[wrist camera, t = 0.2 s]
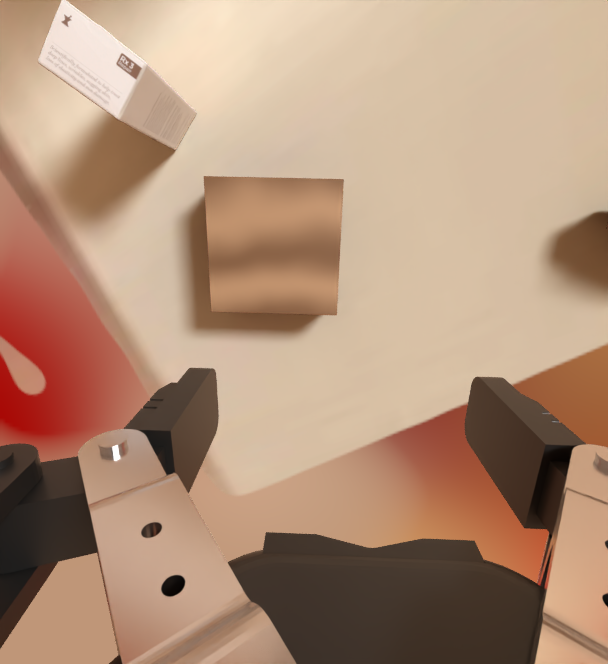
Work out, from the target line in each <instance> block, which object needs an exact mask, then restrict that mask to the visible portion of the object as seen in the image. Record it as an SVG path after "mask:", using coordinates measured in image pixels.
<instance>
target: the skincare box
mask: <svg viewBox="0 0 608 664" xmlns="http://www.w3.org/2000/svg"><path fill="white" fill-rule="evenodd" d="M38 63H39V64H40V65H42V66H43V67H45V68H46V69H47V70H49V71H50V72H52V73H53V74H54V75H56V76H57V77H59V78H60V79H61V80H63V81H64V82H66V83H67V84H68V85H70V86H71V87H73V88H74V89H75V90H77V91H78V92H80V93H81V94H82V95H84V96H85V97H87V98H88V99H89V100H91V101H92V102H94V103H95V104H96V105H98V106H99V107H101V108H102V109H103V110H105V111H106V112H108V113H109V114H111V115H112V116H114V117H115V118H116V119H118V120H119V121H121V122H123V123H125V124H127V125H129V126H130V127H132V128H134V129H136V130H137V131H139V132H141V133H143V134H145V135H147V136H149V137H151V138H152V139H154V140H156V141H158V142H160V143H162V144H164V145H166V146H168V147H170V148H172V149H173V150H176V148H177V147H178V145H179V143H180V142H181V140H182V138H183V137H184V135H185V133H186V131H187V130H188V128H189V126H190V124H191V122H192V121H193V119H194V117H195V115H196V111H195V110H194V109H193V108H192V107H191V106H190V105H189V104H188V103H187V102H186V101H185V100H184V99H183V98H182V97H181V96H180V95H179V94H178V93H177V92H176V91H175V90H174V89H173V88H172V87H171V86H170V85H169V84H168V83H167V82H166V81H165V80H164V79H163V78H162V77H161V76H160V75H159V74H158V73H157V72H156V71H155V70H154V69H153V68H152V67H151V66H150V65H149V64H148V63H147V62H145V61H144V60H143V59H142V58H140V57H139V56H138V55H136V54H135V53H134V52H133V51H131V50H130V49H129V48H127V47H126V46H125V45H123V44H122V43H121V42H120V41H118V40H117V39H116V38H114V37H113V36H112V35H111V34H110V33H109V32H108V31H107V30H105V29H104V28H103V27H102V26H100V25H98V24H97V23H95V22H94V21H93V20H91V19H90V18H89V17H87V16H86V15H85V14H83V13H82V12H81V11H80V10H78V9H77V8H76V7H74V6H73V5H72V4H70V3H69V2H68V1H66V0H61V3H60V5H59V7H58V10H57V12H56V14H55V17H54V20H53V22H52V25H51V27H50V30H49V32H48V35H47V37H46V40H45V42H44V45H43V47H42V50H41V53H40V56H39V59H38Z"/></svg>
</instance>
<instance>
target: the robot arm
mask: <svg viewBox="0 0 608 664" xmlns="http://www.w3.org/2000/svg"><path fill="white" fill-rule="evenodd" d="M217 427H218V397H217V380H216V372H215V370H214V369H209V368H189V369H188V370H187V371H186V373H185V374H184V375H183V376H182V378H181V379H180V380H179V381H178V383H170V384H168V385H166V386H164V387H163V388H161V389H159V390H158V391H157V392H156V393H155V394H154V395H153V396H152V397H151V398H150V401H148V402H147V403H146V404H145V405H144V407H143V409H141V410H140V411H139V412H138V413H137V414H136V415H135V417H134V418H133V419H132V420H131V421H130V422H129V423H128V424H127V426H126V427H125V428H124V429H119V430H114V431H109V432H106V433H103V434H100V435H98V436H96V437H94V438H92V439H91V440H89V441H88V442H87V443H85V444H84V445H83V446H82V447H81V449H80V450H79V453H78V456H77V457H72V458H66V459H60V460H54V461H47V462H41V463H40V458H39V454H38V450H37V449H36V448H35V447H34V446H32V445H29V444H10V445H5V446H1V447H0V648H1V647H2V645H3V644H4V642H5V641H6V639H7V638H8V636H9V634H10V633H11V632H12V630H13V629H14V627H15V626H16V624H17V623H18V621H19V620H20V618H21V617H22V615H23V614H24V612H25V611H26V609H27V608H28V606H29V605H30V603H31V602H32V600H33V599H34V598H35V596H36V595H37V593H38V592H39V590H40V588H41V587H42V586H43V584H44V583H45V581H46V580H47V578H48V577H49V575H50V574H51V572H52V571H53V569H54V568H55V566H56V564H57V563H58V561H62V560H67V559H71V558H75V557H80V556H84V555H88V554H92V553H97V554H98V559H99V563H100V568H101V573H102V577H103V583H104V587H105V592H106V597H107V602H108V606H109V611H110V616H111V621H112V626H113V631H114V636H115V641H116V645H117V650H118V656H117V657H116V658H115V659H114V660H113V661H112V662H110V663H109V664H608V448H607V447H603V446H597V445H588V444H586V443H584V442H583V441H582V440H581V439H580V438H579V437H578V436H576V435H575V434H574V433H573V432H572V431H571V430H569V429H568V428H567V427H566V426H565V425H563V424H562V423H559V420H558V419H557V418H555V417H554V416H553V415H552V414H549V411H547V410H546V409H545V408H544V407H543V406H542V405H540V404H539V403H538V402H536V401H534V400H532V399H530V398H528V397H526V396H525V395H523V394H521V393H519V392H518V391H517V390H516V389H515V388H514V387H513V386H512V385H511V384H509V383H508V382H507V381H506V380H505V379H504V378H498V377H475V378H474V380H473V382H472V385H471V390H470V396H469V402H468V408H467V413H466V419H465V435H466V438H467V441H468V443H469V445H470V446H471V448H472V449H473V451H474V452H475V454H476V455H477V457H478V458H479V460H480V461H481V463H482V465H483V466H484V468H485V469H486V471H487V472H488V474H489V475H490V477H491V478H492V480H493V481H494V483H495V484H496V486H497V487H498V489H499V490H500V492H501V493H502V495H503V497H504V498H505V500H506V501H507V503H508V504H509V506H510V507H511V509H512V510H513V512H514V513H515V515H516V516H517V518H518V519H519V521H520V522H521V524H522V525H523V527H524V528H531V529H547V530H548V531H549V535H548V539H547V542H546V546H545V550H544V555H543V559H542V564H541V568H540V573H539V577H538V582H537V583H535V582H533V581H532V580H530V579H528V578H526V577H525V576H523V575H521V574H519V573H517V572H515V571H513V570H511V569H508V568H506V567H504V566H501V565H498V564H496V563H493V562H490V561H487V560H483V558H482V556H481V554H480V551H479V549H478V547H477V545H476V543H475V541H467V540H443V539H442V540H441V539H419V540H414V541H408V542H403V543H399V544H393V545H388V546H383V547H378V548H366V547H363V546H359V545H355V544H351V543H347V542H344V541H340V540H336V539H332V538H328V537H324V536H321V535H317V534H293V533H292V534H291V533H269V532H268V533H267V532H266V536H265V542H264V548H263V550H261V551H256V552H252V553H249V554H246V555H243V556H241V557H238V558H236V559H234V560H231V561H229V562H227V561H226V559H225V557H224V555H223V554H222V552H221V550H220V548H219V547H218V545H217V543H216V541H215V540H214V538H213V536H212V534H211V533H210V531H209V529H208V527H207V526H206V524H205V522H204V520H203V519H202V517H201V515H200V514H199V512H198V510H197V508H196V506H195V504H194V503H193V501H192V499H191V497H190V496H189V491H190V489H191V487H192V485H193V482H194V480H195V478H196V476H197V474H198V471H199V469H200V467H201V465H202V463H203V461H204V458H205V456H206V454H207V452H208V449H209V447H210V445H211V443H212V441H213V438H214V436H215V434H216V431H217Z"/></svg>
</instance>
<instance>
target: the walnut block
mask: <svg viewBox="0 0 608 664" xmlns="http://www.w3.org/2000/svg"><path fill="white" fill-rule="evenodd" d="M343 181H344V179H306V178H259V177H213V176H204V189H205V207H206V225H207V243H208V261H209V279H210V298H211V312H244V313H277V314H311V315H337V299H338V279H339V260H340V240H341V220H342V201H343Z"/></svg>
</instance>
